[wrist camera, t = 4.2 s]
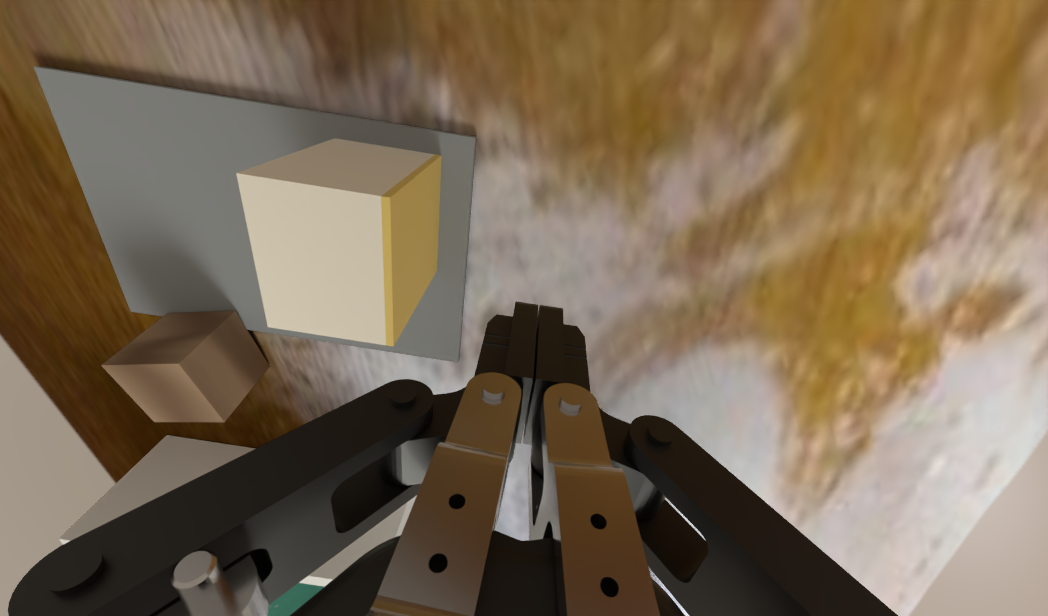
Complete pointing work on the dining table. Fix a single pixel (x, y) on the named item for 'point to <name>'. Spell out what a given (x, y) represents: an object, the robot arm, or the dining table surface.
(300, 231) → the cream block
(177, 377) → the walnut cube
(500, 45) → the dining table surface
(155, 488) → the toy caddy
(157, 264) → the mat
